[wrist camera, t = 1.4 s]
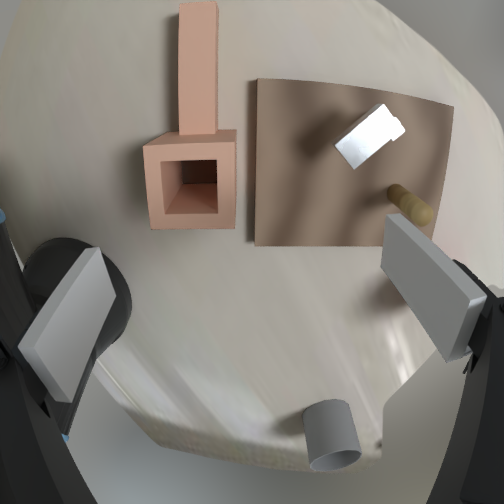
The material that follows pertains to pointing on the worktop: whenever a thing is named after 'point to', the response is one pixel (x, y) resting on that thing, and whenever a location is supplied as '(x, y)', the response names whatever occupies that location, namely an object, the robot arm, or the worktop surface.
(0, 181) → the worktop surface
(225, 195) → the link
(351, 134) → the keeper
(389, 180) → the board
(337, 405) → the cup
